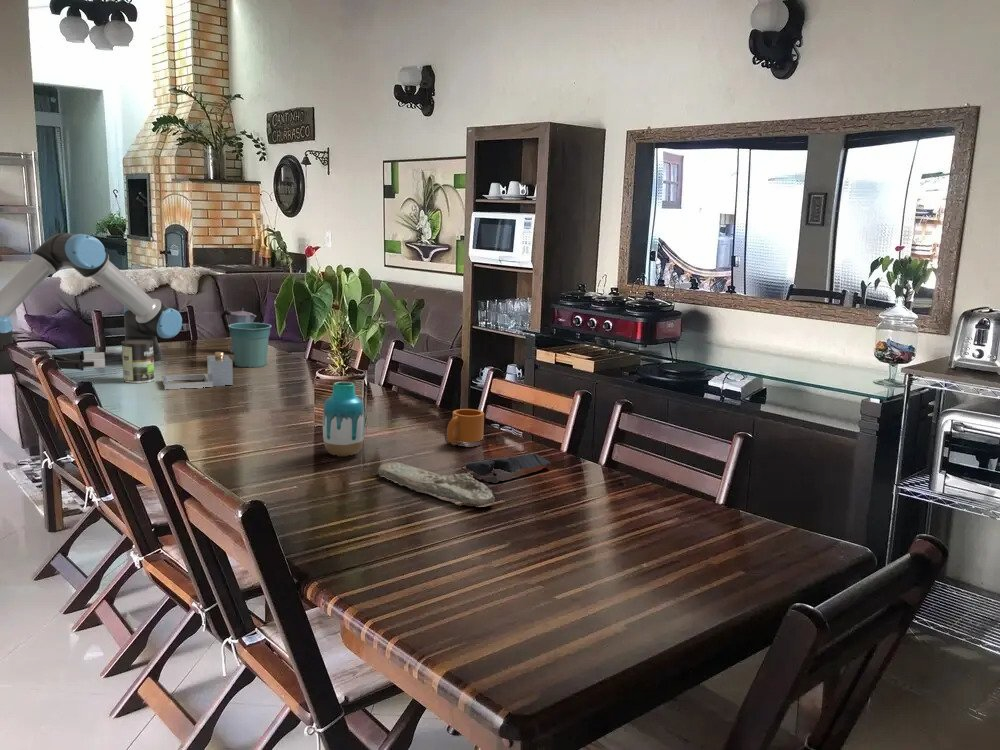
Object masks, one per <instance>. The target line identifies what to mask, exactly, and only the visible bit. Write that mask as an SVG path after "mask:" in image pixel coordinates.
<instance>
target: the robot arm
mask: <svg viewBox="0 0 1000 750" xmlns="http://www.w3.org/2000/svg"><path fill="white" fill-rule="evenodd" d="M105 250H106V249H105V246H104V244H103V243H102V242H101V241H100V240H99V239H98V238H96V236H92V235H89V234H86V233H70V232H61V233H56V234H54V235H52V236H51V237H49V238H48V239H46V240H45V241H44V242H43V243H42V244H40V246H38V247H37V248H36V249H35V251H33V252H32V254H31V255H30V260H29V261H28V262H27V263H26V264H25V265H24V266H23V267H22V268H21V269H20V270H19V271H18V272H17V273H16V274H15V276H13V277H12V278H11V279H10V280H9V281H8V283H7V284H5V285H4V287H3V288H1V290H0V376H1V375H3V376H4V375H15V374H14V373H15V366H14V364H13V362H12V361H11V359H10V357H8V353H7V351H6V352H5V349H4V350H3V345H9V343H10V344H11V343H13V344H14V338H13V326H12V320H11V317H10V316H11V315H12V314H13V313H15V311H16V310H17V309H18V307H20V305H22V304H23V302H25V301H26V299H27V298H29V296H30V295H31V294H32V293H33V292H34V291H35V290H36V289H37V288H38V287H39V286H40V285H41V284H42V283H43V282H44V281H45V279H46V278H48V277H49V276H50V275H54V274H56V273H57V272H58V271H59V270H60V269H62V268H64V267H72V268H73V269H74V270H75V271H77V272H78V273H79V274H80V275H81V276H83V278H92V280H94V282H96V283H97V284H98V285H100V286H101V287H102V288H103V289H105V290H106V292H108V293H109V294H110V295H111V296H113V297H114V299H116V300H117V301H119V302H120V303H121V304H122V305H123V318H124V319H123V320H124V322H123V323H124V324H123V325H124V341H126V340H151V341H153V360H154V362H155V361H159V360H162V359H163V353H162V349H161V348H160V345H159V342H158V339H157V337H158V338H162V339H172V338H174V337H175V336H177V335H178V334H179V333H180V331H181V329H182V327H183V317H182V315H181V313H180V312H179V311H178V310H177V309H174V308H171V307H170V308H169V307H168V306H167V305H166V304H164V303H163V302H162V301H161V300H160V299H159V298H152V297H151V296H149V294H147V293H146V292H145V291H144V290H143V289H141V288H140V287H139V286H138V285H137V284H136V283H135V282H134V281H132V280H131V279H130V277H128V276H127V275H126V274H125V273H124V272H123V271H121V270H120V268H118V267H116V265H115V264H114V263H112V262H111V261H110V257H109V256H110V255H109V254H108V252H106V251H105ZM29 351H30V352H32V353H35V354H45V355H48V356H49V352H48V351H47V350H36V351H35V352H34V350H29ZM50 357H51V358H52V359H54V360H56V362H57V363H58V365H59V367H60V369H59V370H78V371H84V369H92V368H93V369H95V368H96V369H97V368H106V358H105V352H84V350H80V351H79V352H70V353H60V354H59V353H58V354H51V356H50ZM120 358H121V359H122V360H121V359H120V360H121V361H123V358H122V352H121V354H120Z"/></svg>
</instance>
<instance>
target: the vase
mask: <svg viewBox="0 0 1000 750" xmlns="http://www.w3.org/2000/svg"><path fill="white" fill-rule="evenodd" d="M355 388H356V387H355V383H354V382H351V381H338V382H334V383H333V384H332V393H331V396H330V397H328V398H327V399H326V400H325V401H324V405H323V411H322V412H323V413H322V437H323V439H322V440H323V445H324V448H325V449H326V451H327V452H328V453H329V454H331V455H333V456H335V455H337V456H336V457H349V456H348V455H351V456H354V455H356V454H358V453H359V452H360V451H361V449H362V447H363V445H364V436H365V408H364V402H363V401H362V400H361V398H359V397H358V396H357V394H356V392H355V391H356V389H355ZM353 454H354V455H353Z"/></svg>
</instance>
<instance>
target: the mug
mask: <svg viewBox="0 0 1000 750" xmlns="http://www.w3.org/2000/svg"><path fill="white" fill-rule="evenodd" d="M484 425H485V413H484V411H482V410H479V409H473V408H460V409H455V410H453V411H452V418H451V419H450V420H449V422H448V425H447V428H446V438H447V441H448V442H456V441H464V442H474V441H475V442H476V441H480V440H482V439H483V440H484V428H485V427H484Z"/></svg>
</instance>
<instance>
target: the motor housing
mask: <svg viewBox="0 0 1000 750" xmlns="http://www.w3.org/2000/svg"><path fill="white" fill-rule="evenodd" d="M206 357H207V359H206V361H207V362H206V363H207V366H206V367H207V373H192V374H190V373H189V374H170V375H161V382H163V383H162V385H164V386H163V388H164V390H165V391H167V390H166V389H179V390H181V389H180V388H198V389H206V388H205V387H213V386H216V387H226V386H225V385H233V386H234V382H233V381H234V380H233V379H234V376H233V375H234V373H233V360H232V359H231V357H230V355H228V354H225V352H223V351H215V352H214V354H213V355H206ZM203 379H204V380H203ZM173 380H191V381H193V382H191V381H189V382H174V381H173ZM168 381H170V382H171V383H169V382H168ZM172 382H173V383H172ZM203 387H204V388H203ZM213 388H214V387H213Z"/></svg>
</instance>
